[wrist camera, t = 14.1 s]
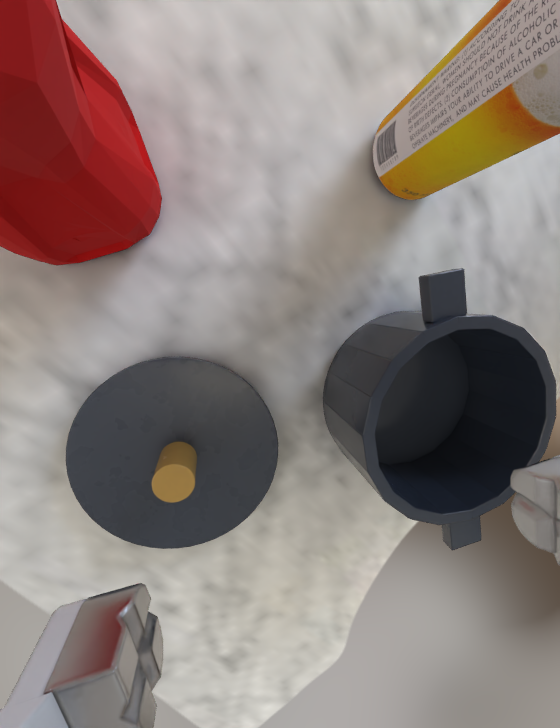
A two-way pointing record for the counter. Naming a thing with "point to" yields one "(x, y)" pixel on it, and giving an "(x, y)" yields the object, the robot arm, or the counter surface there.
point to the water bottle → (66, 145)
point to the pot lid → (172, 452)
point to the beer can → (476, 102)
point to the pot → (441, 407)
